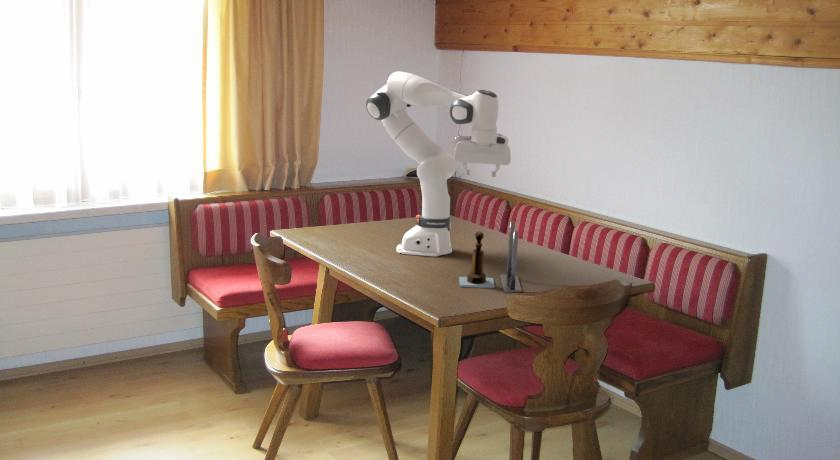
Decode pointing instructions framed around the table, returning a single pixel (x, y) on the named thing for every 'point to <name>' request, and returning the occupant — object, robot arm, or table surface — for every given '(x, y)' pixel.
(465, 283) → the mat
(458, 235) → the table surface
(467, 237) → the table surface
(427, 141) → the robot arm
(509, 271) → the retort stand
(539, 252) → the table surface
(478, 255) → the wooden turned spindle
